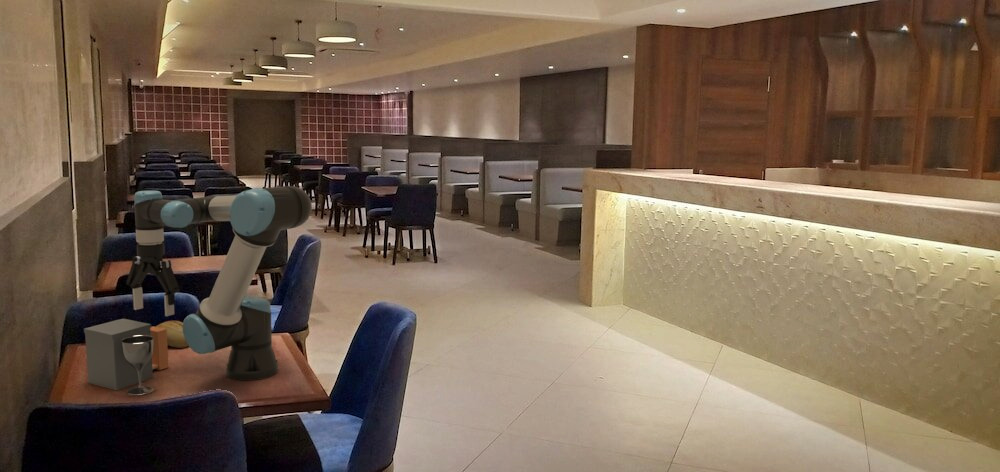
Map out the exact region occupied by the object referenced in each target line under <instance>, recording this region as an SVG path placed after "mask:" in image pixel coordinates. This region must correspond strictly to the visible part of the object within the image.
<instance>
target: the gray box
mask: <svg viewBox="0 0 1000 472" xmlns="http://www.w3.org/2000/svg"><path fill="white" fill-rule="evenodd" d="M151 327H152V324H151V323H147V322H142V321H137V320H132V319H127V318H121V319H116V320H111V321H108V322H104V323H101V324H95V325H92V326H90V327H85V328H83V333H84V336H85V350H86V351H85V353H86V354H85V355H86V367H87V381H88V382H87V383H88V384H91V385H95V386H99V387H103V388H106V389H110V390H115V391H119V390H122V389H125V388H127V387H130V386H133V385H136V384H139V383H138V375H137V372H136V370H135V369H134V367H132V366H131V365H130V364H129V363H128V362H127V361H126V360H125V358H124V355H123V351H122V339H124V338H127V337H130V336H136V335H149V336H151V335H150V328H151ZM153 370H154V369H153V365H152V357H151V359H150V360H149V361H148V363H147V364H146V365H145V366H144V368H143V370H142V377H141V382H144V381H148V380H150V379H152V378H154V375H153V373H154V372H153Z"/></svg>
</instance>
